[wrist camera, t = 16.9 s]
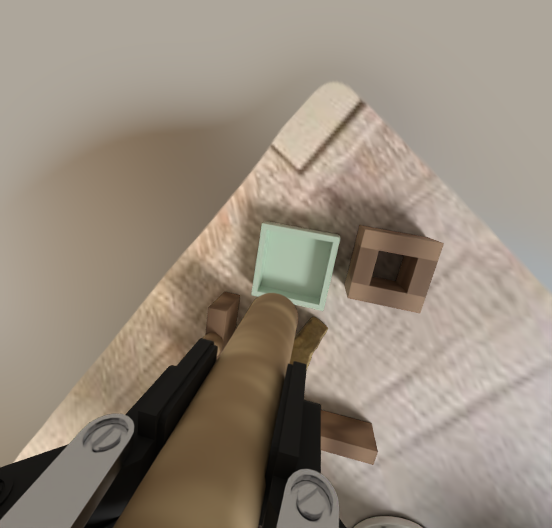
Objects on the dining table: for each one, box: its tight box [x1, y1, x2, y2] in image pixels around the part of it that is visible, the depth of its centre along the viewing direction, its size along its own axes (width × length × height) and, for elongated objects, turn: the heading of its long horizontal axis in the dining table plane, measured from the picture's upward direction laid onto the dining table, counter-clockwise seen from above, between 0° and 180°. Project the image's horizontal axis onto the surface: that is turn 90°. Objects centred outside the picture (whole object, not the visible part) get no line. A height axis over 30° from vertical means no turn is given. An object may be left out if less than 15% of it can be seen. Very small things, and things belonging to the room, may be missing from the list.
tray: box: [251, 221, 340, 311], centre depth 30 cm, size 8×8×2 cm
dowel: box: [113, 293, 298, 528], centre depth 10 cm, size 3×3×12 cm
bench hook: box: [203, 292, 378, 465], centre depth 30 cm, size 22×16×7 cm
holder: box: [345, 225, 444, 313], centre depth 27 cm, size 7×7×4 cm
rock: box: [290, 317, 328, 371], centre depth 31 cm, size 11×9×10 cm
